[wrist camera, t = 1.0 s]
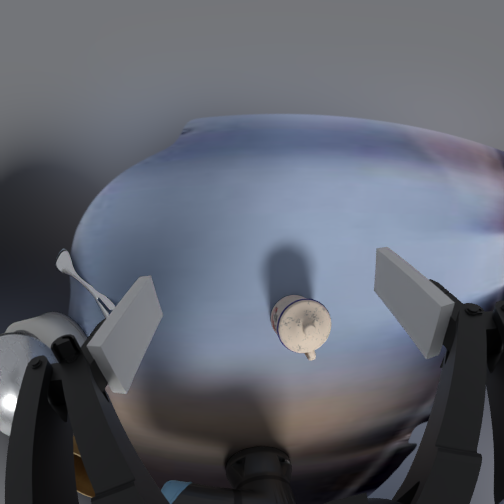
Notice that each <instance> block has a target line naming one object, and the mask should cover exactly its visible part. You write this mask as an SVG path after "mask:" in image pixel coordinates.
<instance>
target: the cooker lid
mask: <svg viewBox="0 0 504 504" xmlns="http://www.w3.org/2000/svg"><path fill="white" fill-rule="evenodd" d="M42 355H43V356H46V358H47V359H48V361H49V362H50V364H52V363H59V362H58V361H57V359H56V357H55V355H54V354H53V352H52V350H51V349H50V348H49V347H48V346H47V345H46V344H45V343H43V342H42V341H40V340H39V339H37V338H35V337H33V336H30V335H27V334H23V333H17V332H10V333H4V334H0V431H1V432H3V433H5V434H6V435H9V436H10V432H11V426H12V421H13V416H14V411H15V407H16V403H17V398H18V394H19V391H20V387H21V383H22V380H23V376H24V373H25V370H26V367H27V365H28V363H29V362H30V361H31V359H33V358H34V357H37V356H42Z"/></svg>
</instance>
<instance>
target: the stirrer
mask: <svg viewBox="0 0 504 504" xmlns="http://www.w3.org/2000/svg"><path fill="white" fill-rule="evenodd" d="M55 266H56V268H57V270H58V271H59V272H61V273H64V274H68V275H70V276H72V277H74V278H75V279H77V280H78V281H79V282H80V283H81V284H82V285H83V286H84V287H85V288H86V289H87V290H88V291H89V292H90V293H91V294H92V296H93V297H94V299H95V301H96V302H97V305H98V306H99V308H100V310H101V312H102V314H103V315H104V317H105V318H107V317H108V316H109V313H108V311H107V310H106V309H105V308H104V307H103V305H102V304H101V303H100V302H99V300H98V298H100V299H101V300H102V301H103V302H104V304H105V305H106V306H107V307H108V308H109V310H114V308H115V305H114V304H113V303H112V302H111V301H110V300H109V299H108V298H107V297H106V296H104V295H102V294H100V293H99V292H97V291H96V290H95V289H94V288H93V287H92V286H91V285H89V284H88V283H86V282H85V281H84V280H83V279H81V278H80V277H79V276H78V274H77V273H76V272H75V270H74V268H73V265H72V261H71V258H70V255H69V253H68V251H67V250H66V249H65V248H63V249H62V250H61V251H60V253H59V254H58V256H57V257H56V260H55Z"/></svg>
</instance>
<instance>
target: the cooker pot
mask: <svg viewBox="0 0 504 504" xmlns="http://www.w3.org/2000/svg"><path fill="white" fill-rule="evenodd" d="M10 332H17V333H23V334H27V335H30V336H33V337H35V338H37V339H39V340H40V341H42V342H43V343H45V344H46V345H47V346H48V347H49V348H50V349H51V344H52V343H53V341H55V340H56V339H57V338H59V337H61V336H63V335H66V334H71V335H74V336H75V338H76V340H77V342H78V344H79V346H80V347H81V346H82V345H83V343H84V342H85V341H86V339H87V336H86V334H85V333H84V331H83V330H82V329H81V327H80V326H79V325H78V324H77V323H76V322H75V321H74V320H73V319H71V318H70V317H68V316H67V315H65V314H63V313H59V312H48V313H44V314H42V315H40V316H38V317H34V318H30V319H27V320H23V321H19V322H15V323H13V324H11V325H10V326H9V327H8V328H7V330H6V332H5V333H10Z"/></svg>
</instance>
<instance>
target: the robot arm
mask: <svg viewBox="0 0 504 504" xmlns="http://www.w3.org/2000/svg"><path fill="white" fill-rule="evenodd" d="M374 291H375V292H376V294H377V295H378V296H379V297H380V299H381V300H382V301H383V302H384V304H385V305H386V306H387V307H388V309H389V310H390V311H391V313H392V314H393V315H394V316H395V318H396V319H397V320H398V322H399V323H400V324H401V326H402V327H403V328H404V330H405V331H406V332H407V334H408V335H409V336H410V338H411V339H412V340H413V342H414V343H415V344H416V346H417V347H418V349H419V350H420V351H421V353H422V354H423V356H424V357H425V358H426V359H428V358H431V357H434V356H437V355H439V353H440V351H441V348H442V345H444V346H445V347H446V349H447V350H446V353H445V356H444V358H443V361H442V364H441V366H440V368H442V371H441V376H440V380H439V385H438V389H437V393H436V396H435V400H434V404H433V407H432V411H431V414H430V417H429V420H428V423H427V426H426V429H425V432H424V435H423V438H422V441H421V443H420V446H419V449H418V451H417V454H416V456H415V459H414V461H413V463H412V466H411V468H410V470H409V472H408V474H407V476H406V478H405V480H404V482H403V484H402V485H401V487H400V489H399V490H398V491H397V493H396V494H395V496H394V497H393V499H392V500H389V499H380V498H367V495H366V493H363V494H359V495H355V496H351V497H347V498H343V499H339V500H334V501H330V502H327V503H325V504H469V503H470V501H471V498H472V495H473V492H474V488H475V485H476V482H477V479H478V475H479V471H480V467H481V463H482V456H481V454H478V453H477V445H478V441H479V435H480V429H481V424H482V417H483V410H484V400H485V389H486V387H487V392H488V398H489V404H490V411H491V419H492V429H493V441H494V501H495V504H504V301H498V302H497V303H496V305H495V308H494V311H491V312H484V310H483V309H482V308H481V307H480V306H478V305H476V304H472V303H466V304H463V303H461V302H460V301H459V300H458V299H457V298H456V297H455V296H453V295H452V294H451V293H449V291H448V290H446V289H445V288H444V287H443V286H442V285H441V284H439V283H438V282H435V281H433V280H431V279H430V280H428V279H427V278H426V277H425V276H423V275H422V274H421V273H420V272H419V271H417V270H416V269H415V268H414V267H412V266H411V265H410V264H409V263H407V262H406V261H405V260H404V259H402V258H401V257H400V256H399V255H397V254H396V253H395V252H394V251H392V250H391V249H390V248H388V247H384V248H377V249H376V270H375V284H374ZM162 317H163V313H162V310H161V307H160V304H159V301H158V297H157V294H156V291H155V287H154V284H153V281H152V277H151V276H141V277H139V278H138V279H137V281H136V282H135V283H134V284H133V285H132V287H131V288H130V289H129V290H128V292H127V293H126V294H125V295H124V297H123V298H122V299H121V301H120V302H119V303H118V304H117V306H116V307H115V308H114V310H113V311H112V312H111V313H110V315H109V316H108V317H107V318H105V319H104V320H103V321H101V322H100V323H99V324H98V325H97V326H96V327H95V329H94V331H92V333H91V334H90V336H89V337H88V338H87V339H86V341H85V342H84V343H83V345H82V346H81V347H80V346H79V344H78V342H77V340H76V338H75V336H74V335H71V334H66V335H63V336H61V337H59V338H57V339H56V340H55V341H53V343H52V344H51V350H52V352H53V354H54V355H55V357H56V359H57V361H58V362H59V363H52V364H50V362H49V361H48V359H47V358H46V356H43V355H42V356H37V357H34V358H33V359H31V361H30V362H29V363H28V365H27V367H26V370H25V373H24V376H23V380H22V383H21V387H20V391H19V394H18V398H17V403H16V407H15V411H14V416H13V421H12V426H11V432H10V438H9V446H8V453H7V464H6V479H5V504H79V502H78V495H77V487H76V479H75V468H74V452H73V433H74V437H75V440H76V443H77V446H78V450H79V453H80V456H81V458H82V461H83V464H84V467H85V470H86V472H87V475H88V477H89V480H90V482H91V485H92V487H93V489H94V492H95V497H92V498H91V502H92V504H296V501H295V498H294V495H293V493H292V490H291V487H290V478H291V473H292V465H291V462H290V460H289V457H288V456H287V455H286V454H285V453H284V452H282V451H281V450H278V449H276V448H271V447H253V448H248V449H245V450H242V451H240V452H238V453H236V454H235V455H233V456H232V457H231V458H230V459H229V461H228V462H227V465H226V476H227V479H228V481H229V482H230V484H231V486H232V487H233V489H230V488H220V487H213V486H206V485H200V484H195V483H192V482H182V481H176V480H171V481H168V482H167V483H165V485H164V486H163V488H162V489H161V490H160V489H159V488H158V486H157V485H156V483H155V482H154V480H153V479H152V477H151V476H150V474H149V472H148V471H147V469H146V468H145V466H144V464H143V463H142V461H141V459H140V458H139V456H138V454H137V453H136V451H135V449H134V447H133V445H132V444H131V442H130V440H129V438H128V436H127V434H126V432H125V430H124V428H123V426H122V424H121V422H120V420H119V418H118V416H117V414H116V412H115V410H114V407H113V405H112V403H111V401H110V398H109V396H108V394H107V392H106V391H105V387H106V386H107V384H108V385H109V387H110V388H111V390H112V391H113V392H114V393H123V394H127V392H128V390H129V388H130V385H131V383H132V381H133V379H134V376H135V374H136V372H137V370H138V368H139V365H140V363H141V361H142V359H143V357H144V354H145V352H146V350H147V348H148V346H149V344H150V342H151V339H152V337H153V335H154V333H155V331H156V329H157V327H158V325H159V323H160V321H161V319H162Z"/></svg>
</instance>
